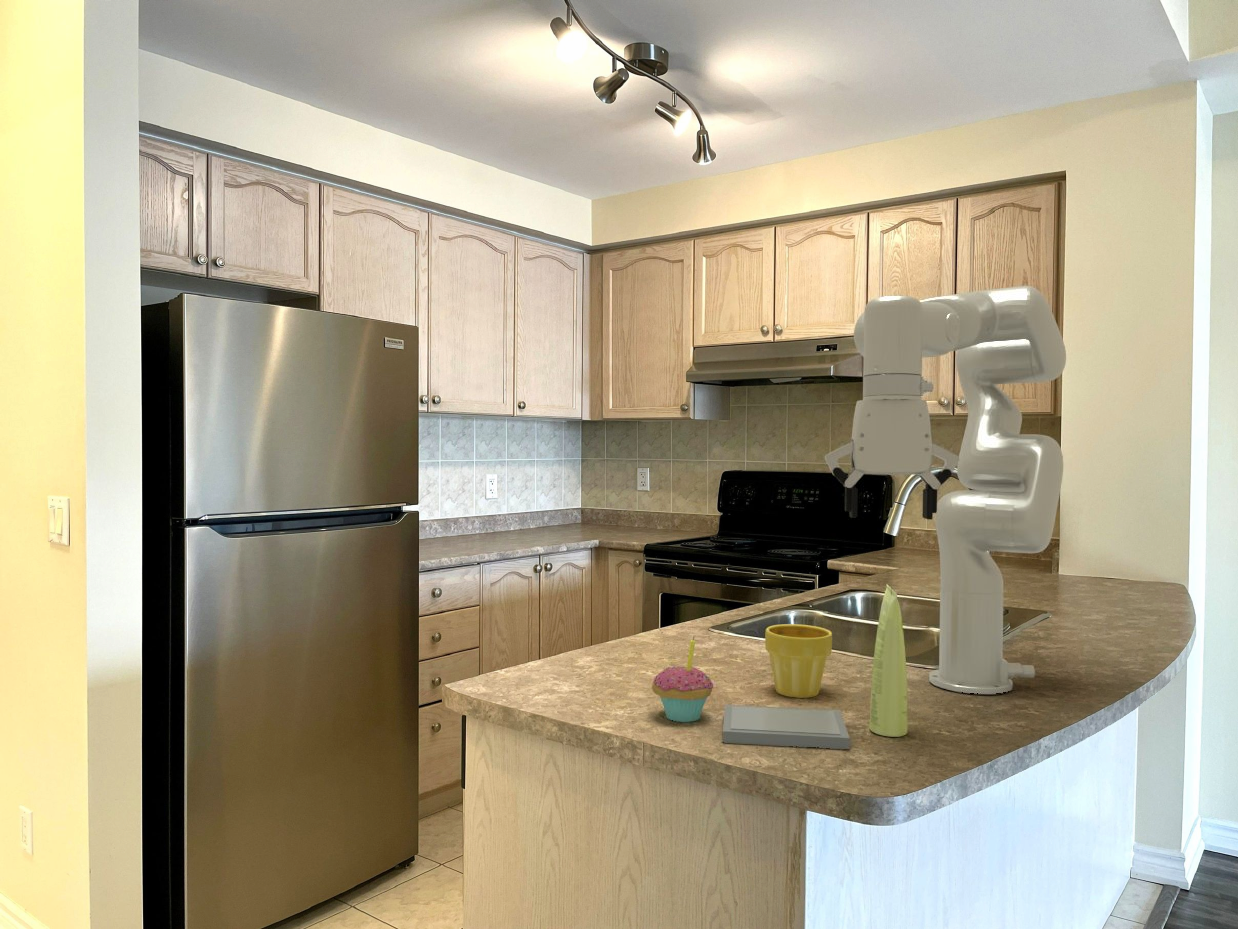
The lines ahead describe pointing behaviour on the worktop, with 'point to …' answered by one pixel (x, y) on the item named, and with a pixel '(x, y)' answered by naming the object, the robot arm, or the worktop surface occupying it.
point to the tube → (889, 672)
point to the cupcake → (683, 690)
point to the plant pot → (798, 657)
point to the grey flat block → (785, 727)
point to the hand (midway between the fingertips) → (890, 517)
